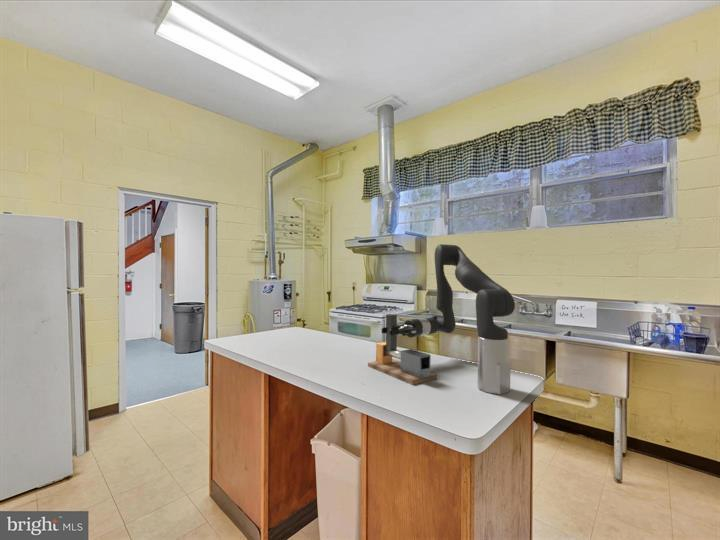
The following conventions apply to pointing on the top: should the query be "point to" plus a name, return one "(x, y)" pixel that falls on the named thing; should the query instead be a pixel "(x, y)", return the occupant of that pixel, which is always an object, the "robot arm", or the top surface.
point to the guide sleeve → (415, 363)
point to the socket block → (380, 356)
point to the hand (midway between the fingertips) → (386, 331)
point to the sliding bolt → (391, 337)
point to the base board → (399, 372)
